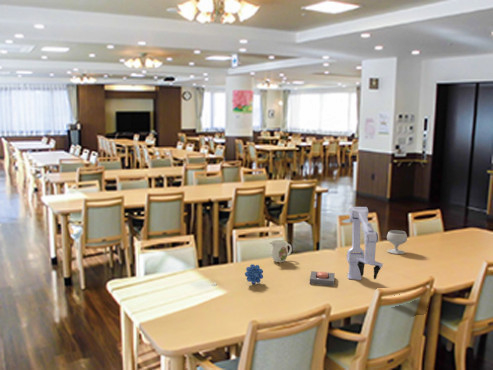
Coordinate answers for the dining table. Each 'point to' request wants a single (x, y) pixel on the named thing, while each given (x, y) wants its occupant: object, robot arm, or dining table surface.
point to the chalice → (396, 240)
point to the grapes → (254, 273)
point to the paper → (213, 285)
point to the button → (322, 275)
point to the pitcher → (280, 250)
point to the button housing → (322, 279)
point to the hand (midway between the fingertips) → (368, 277)
